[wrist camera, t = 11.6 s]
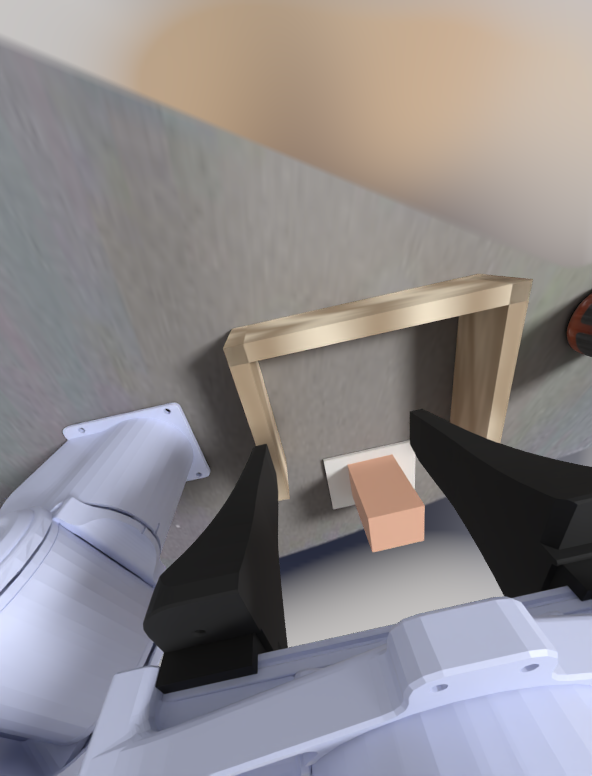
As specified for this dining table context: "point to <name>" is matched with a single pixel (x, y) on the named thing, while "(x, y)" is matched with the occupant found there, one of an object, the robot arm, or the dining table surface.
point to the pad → (339, 464)
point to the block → (386, 503)
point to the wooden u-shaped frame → (387, 313)
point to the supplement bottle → (581, 328)
